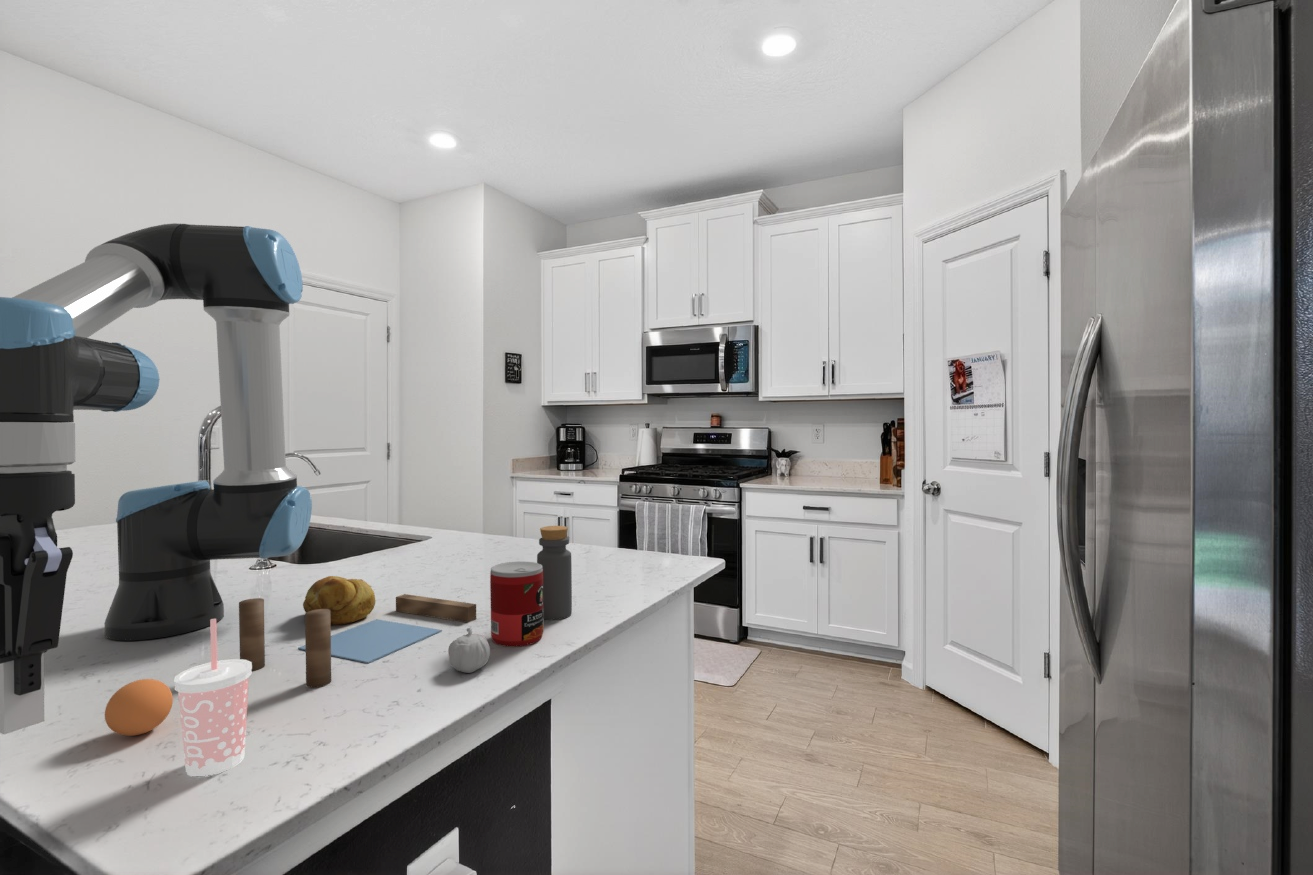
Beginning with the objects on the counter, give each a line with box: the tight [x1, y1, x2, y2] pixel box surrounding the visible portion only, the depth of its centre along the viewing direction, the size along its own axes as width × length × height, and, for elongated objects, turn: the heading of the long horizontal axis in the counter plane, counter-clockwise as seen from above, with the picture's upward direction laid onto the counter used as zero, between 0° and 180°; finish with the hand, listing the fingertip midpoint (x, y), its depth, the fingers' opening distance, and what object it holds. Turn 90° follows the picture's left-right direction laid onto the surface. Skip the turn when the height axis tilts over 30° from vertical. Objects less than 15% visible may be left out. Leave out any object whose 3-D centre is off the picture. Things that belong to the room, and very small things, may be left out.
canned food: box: [489, 561, 544, 648], centre depth 92 cm, size 8×8×11 cm
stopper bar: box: [395, 593, 477, 623], centre depth 103 cm, size 16×2×2 cm, turn 67°
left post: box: [238, 597, 266, 672], centre depth 81 cm, size 3×3×9 cm
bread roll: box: [302, 575, 376, 626], centre depth 102 cm, size 13×10×8 cm
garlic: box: [447, 627, 491, 674], centre depth 80 cm, size 6×5×5 cm
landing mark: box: [298, 618, 443, 664], centre depth 92 cm, size 14×14×1 cm
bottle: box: [536, 525, 573, 621], centre depth 103 cm, size 6×6×15 cm
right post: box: [304, 609, 332, 689], centre depth 76 cm, size 3×3×9 cm
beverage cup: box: [173, 619, 253, 777], centre depth 58 cm, size 6×6×14 cm
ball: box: [104, 678, 174, 737], centre depth 64 cm, size 6×6×6 cm
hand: (20, 725), depth 55 cm, fingers closed
